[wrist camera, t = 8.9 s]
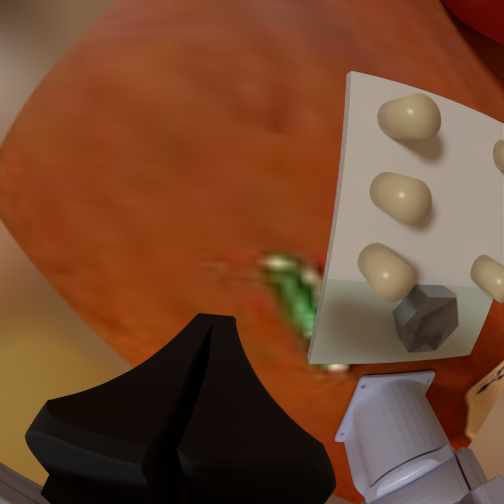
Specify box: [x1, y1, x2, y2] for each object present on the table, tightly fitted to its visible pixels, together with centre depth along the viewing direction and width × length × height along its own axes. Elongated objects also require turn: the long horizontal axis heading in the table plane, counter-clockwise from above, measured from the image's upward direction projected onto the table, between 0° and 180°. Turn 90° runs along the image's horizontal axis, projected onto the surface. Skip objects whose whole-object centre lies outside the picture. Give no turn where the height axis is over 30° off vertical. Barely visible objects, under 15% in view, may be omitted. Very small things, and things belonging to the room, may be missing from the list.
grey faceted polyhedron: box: [393, 284, 459, 353], centre depth 19 cm, size 5×4×2 cm
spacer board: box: [307, 71, 504, 364], centre depth 17 cm, size 20×16×4 cm
